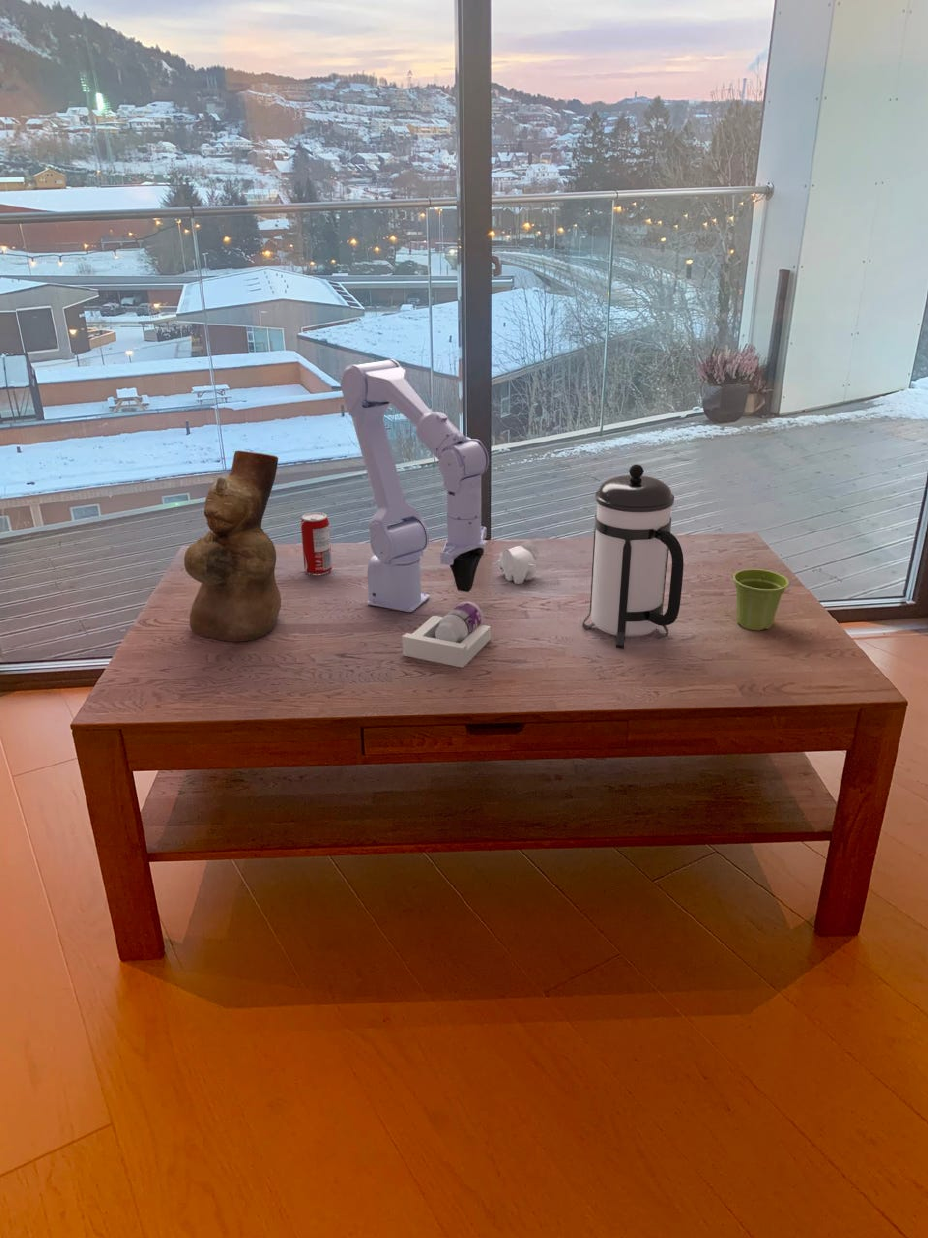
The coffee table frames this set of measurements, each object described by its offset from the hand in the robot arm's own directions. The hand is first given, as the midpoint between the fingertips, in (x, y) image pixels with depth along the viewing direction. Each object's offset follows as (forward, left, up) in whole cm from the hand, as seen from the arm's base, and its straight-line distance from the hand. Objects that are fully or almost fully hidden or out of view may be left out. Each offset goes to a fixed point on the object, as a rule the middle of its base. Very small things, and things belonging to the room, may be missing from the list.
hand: (464, 589), depth 163 cm
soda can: (-39, +14, -8) cm, 42 cm away
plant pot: (+46, +24, -8) cm, 52 cm away
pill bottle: (+1, 0, -5) cm, 5 cm away
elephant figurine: (-1, +27, -8) cm, 28 cm away
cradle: (0, -6, -8) cm, 10 cm away
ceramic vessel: (-38, -11, -8) cm, 40 cm away
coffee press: (+27, +11, -8) cm, 30 cm away
